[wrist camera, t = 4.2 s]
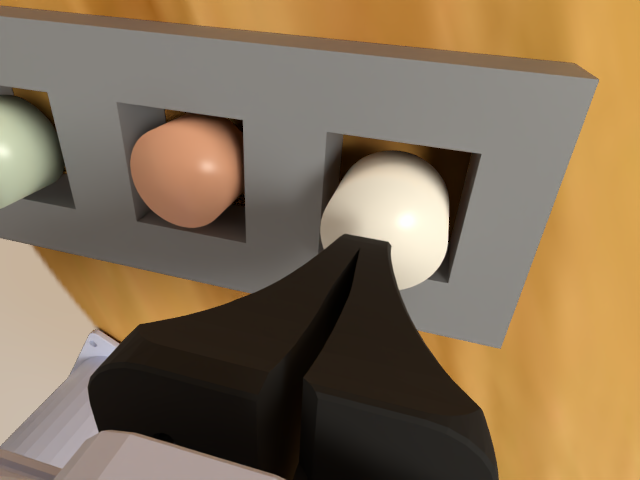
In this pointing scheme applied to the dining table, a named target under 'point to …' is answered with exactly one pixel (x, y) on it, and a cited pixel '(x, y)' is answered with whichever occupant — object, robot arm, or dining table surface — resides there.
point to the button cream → (393, 212)
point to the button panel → (292, 149)
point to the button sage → (26, 150)
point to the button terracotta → (190, 168)
